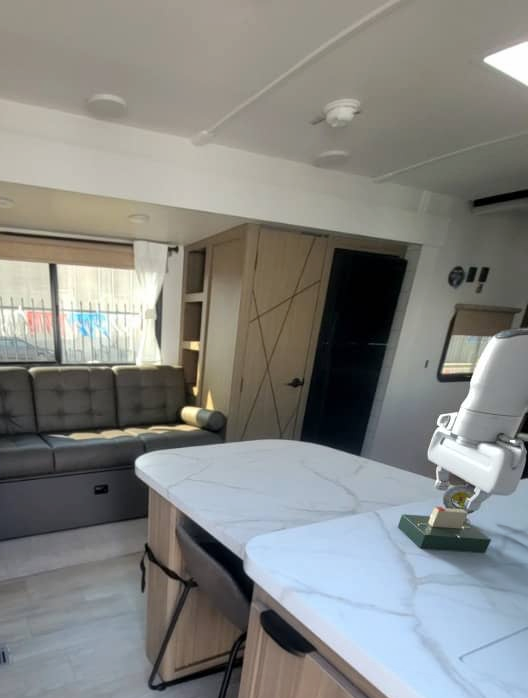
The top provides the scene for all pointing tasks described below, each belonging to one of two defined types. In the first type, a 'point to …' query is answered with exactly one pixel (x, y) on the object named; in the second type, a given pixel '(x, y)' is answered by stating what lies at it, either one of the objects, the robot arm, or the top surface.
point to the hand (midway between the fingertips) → (454, 498)
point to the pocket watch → (458, 497)
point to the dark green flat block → (443, 535)
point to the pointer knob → (447, 517)
